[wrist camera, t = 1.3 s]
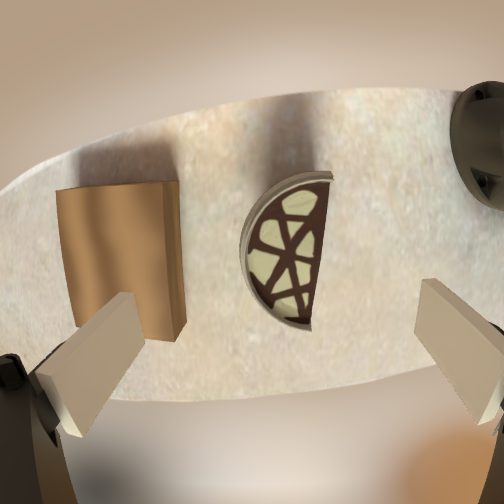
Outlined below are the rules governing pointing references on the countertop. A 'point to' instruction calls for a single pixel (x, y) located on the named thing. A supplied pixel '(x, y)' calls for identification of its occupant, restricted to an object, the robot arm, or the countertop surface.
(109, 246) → the walnut block
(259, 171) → the countertop surface
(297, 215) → the food container
